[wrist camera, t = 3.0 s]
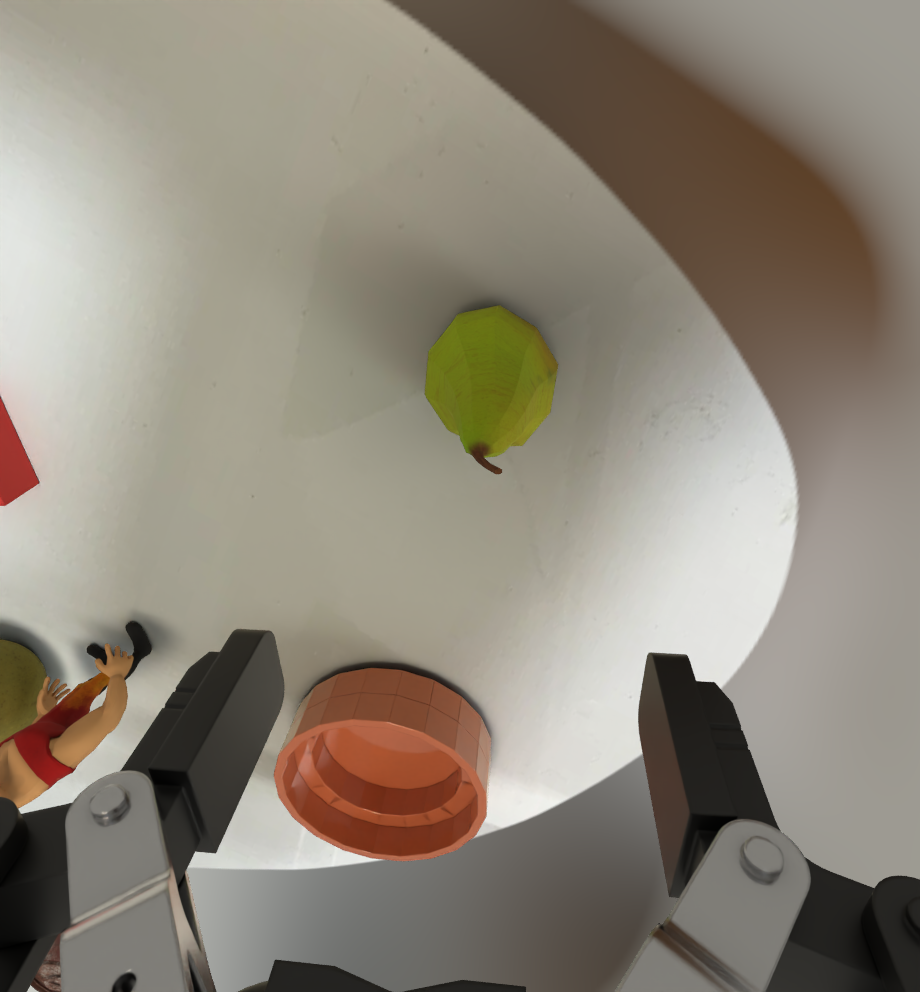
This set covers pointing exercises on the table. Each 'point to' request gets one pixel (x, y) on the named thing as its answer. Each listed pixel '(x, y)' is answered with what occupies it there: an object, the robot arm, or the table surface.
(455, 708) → the bowl
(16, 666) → the apple
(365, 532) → the table surface
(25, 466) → the red rectangular block
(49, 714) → the action figure
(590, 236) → the table surface
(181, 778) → the robot arm
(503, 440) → the fruit
